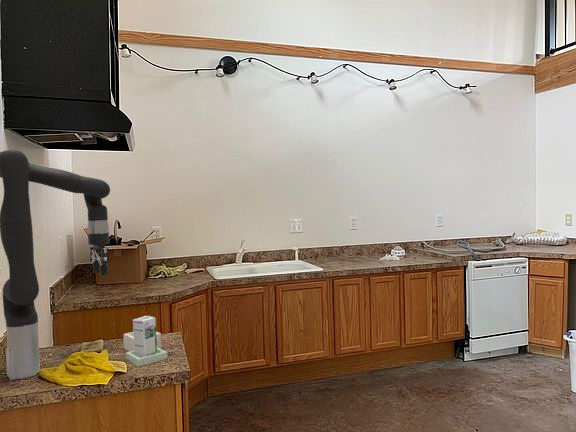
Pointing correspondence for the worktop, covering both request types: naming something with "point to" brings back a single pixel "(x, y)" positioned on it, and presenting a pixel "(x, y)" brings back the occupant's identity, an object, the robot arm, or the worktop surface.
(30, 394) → the worktop surface
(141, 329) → the syrup box
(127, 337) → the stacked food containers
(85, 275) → the worktop surface
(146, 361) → the tray
